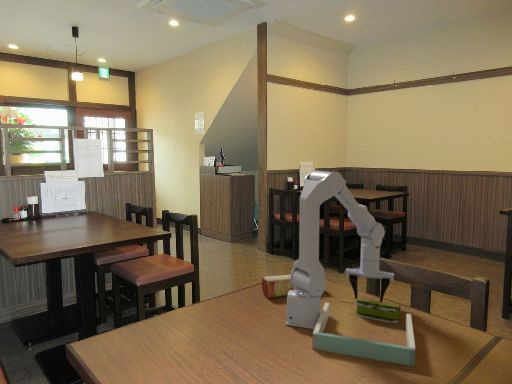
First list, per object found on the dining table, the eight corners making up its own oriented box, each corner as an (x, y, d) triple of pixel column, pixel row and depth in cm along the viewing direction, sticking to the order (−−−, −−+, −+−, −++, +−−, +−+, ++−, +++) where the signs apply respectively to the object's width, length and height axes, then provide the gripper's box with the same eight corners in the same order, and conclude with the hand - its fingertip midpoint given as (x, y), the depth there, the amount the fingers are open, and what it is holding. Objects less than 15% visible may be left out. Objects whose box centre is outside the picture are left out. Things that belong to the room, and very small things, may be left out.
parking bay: (312, 348, 94) (312, 333, 94) (325, 315, 113) (325, 302, 112) (414, 366, 87) (415, 350, 86) (410, 327, 105) (411, 314, 104)
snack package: (316, 286, 137) (316, 268, 136) (324, 293, 130) (325, 274, 130) (260, 293, 131) (260, 274, 130) (266, 300, 124) (266, 281, 123)
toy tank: (399, 311, 103) (403, 291, 112) (332, 299, 112) (340, 282, 120) (399, 332, 106) (402, 312, 114) (333, 319, 114) (340, 301, 122)
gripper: (394, 256, 120) (392, 297, 122) (347, 252, 125) (346, 291, 127) (394, 263, 114) (392, 306, 115) (345, 258, 118) (344, 300, 120)
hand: (368, 299), depth 121 cm, fingers open, 7 cm apart
